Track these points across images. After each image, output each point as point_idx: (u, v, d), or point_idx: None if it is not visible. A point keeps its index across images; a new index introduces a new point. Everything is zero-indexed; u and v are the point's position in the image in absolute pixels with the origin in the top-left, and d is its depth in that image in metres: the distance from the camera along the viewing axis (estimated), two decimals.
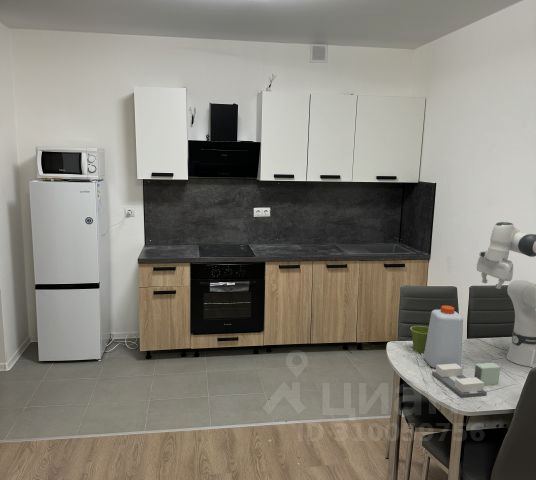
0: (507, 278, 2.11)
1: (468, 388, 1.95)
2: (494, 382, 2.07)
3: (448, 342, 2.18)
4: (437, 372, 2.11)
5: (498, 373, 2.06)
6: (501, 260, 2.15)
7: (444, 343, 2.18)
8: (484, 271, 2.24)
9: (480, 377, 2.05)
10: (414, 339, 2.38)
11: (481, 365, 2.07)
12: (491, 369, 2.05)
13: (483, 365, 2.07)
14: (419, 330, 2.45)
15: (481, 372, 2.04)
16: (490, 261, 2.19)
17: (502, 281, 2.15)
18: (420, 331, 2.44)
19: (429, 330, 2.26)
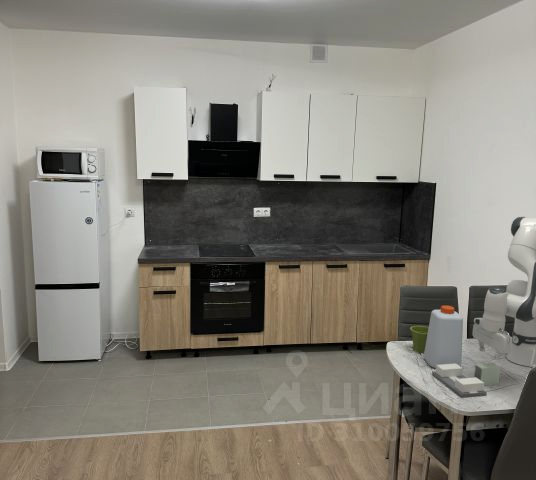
0: (505, 351, 1.95)
1: (468, 388, 1.95)
2: (494, 382, 2.07)
3: (448, 342, 2.18)
4: (437, 372, 2.11)
5: (498, 373, 2.06)
6: (497, 330, 2.00)
7: (444, 343, 2.18)
8: (481, 339, 2.09)
9: (480, 377, 2.05)
10: (414, 339, 2.38)
11: (481, 365, 2.07)
12: (491, 369, 2.05)
13: (483, 365, 2.07)
14: (419, 330, 2.45)
15: (481, 372, 2.04)
16: (486, 330, 2.03)
17: (500, 353, 1.99)
18: (420, 331, 2.44)
19: (429, 330, 2.26)
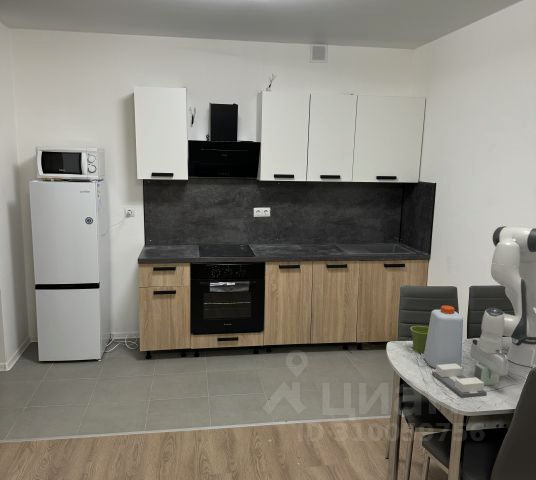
0: (502, 373, 1.97)
1: (468, 388, 1.95)
2: (494, 382, 2.07)
3: (448, 342, 2.18)
4: (437, 372, 2.11)
5: None
6: (495, 351, 2.01)
7: (444, 343, 2.18)
8: (478, 360, 2.10)
9: (480, 377, 2.05)
10: (414, 339, 2.38)
11: (481, 365, 2.07)
12: None
13: (483, 365, 2.07)
14: (419, 330, 2.45)
15: (481, 372, 2.04)
16: (483, 351, 2.05)
17: (495, 372, 2.03)
18: (420, 331, 2.44)
19: (429, 330, 2.26)
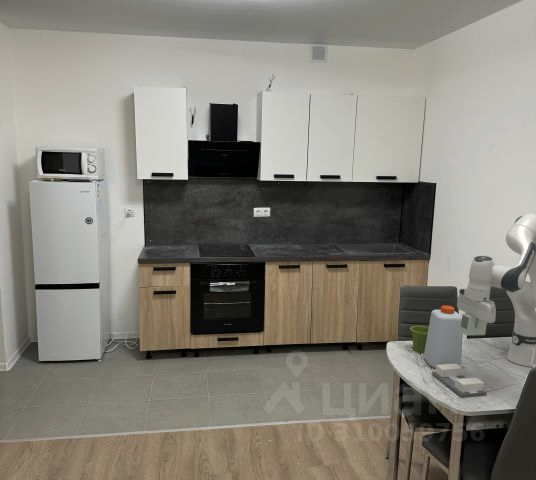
0: (490, 320, 1.90)
1: (468, 388, 1.95)
2: (481, 332, 2.00)
3: (448, 342, 2.18)
4: (437, 372, 2.11)
5: (486, 324, 2.00)
6: (482, 299, 1.95)
7: (444, 344, 2.18)
8: (465, 310, 2.04)
9: (466, 326, 1.98)
10: (414, 339, 2.38)
11: (468, 314, 2.00)
12: None
13: None
14: (419, 330, 2.45)
15: (467, 321, 1.98)
16: (470, 300, 1.98)
17: (482, 321, 1.96)
18: (420, 331, 2.44)
19: (429, 330, 2.26)
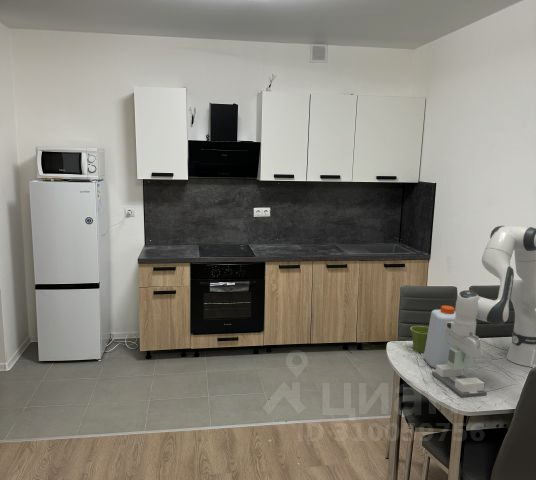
0: (475, 356, 1.92)
1: (468, 388, 1.95)
2: (468, 366, 2.02)
3: None
4: (437, 372, 2.11)
5: None
6: (468, 334, 1.97)
7: (444, 343, 2.18)
8: (452, 343, 2.05)
9: (453, 361, 2.00)
10: (414, 339, 2.38)
11: (455, 348, 2.02)
12: None
13: None
14: (419, 330, 2.45)
15: (454, 356, 2.00)
16: (457, 335, 2.00)
17: (468, 356, 1.98)
18: (420, 331, 2.44)
19: (429, 330, 2.26)
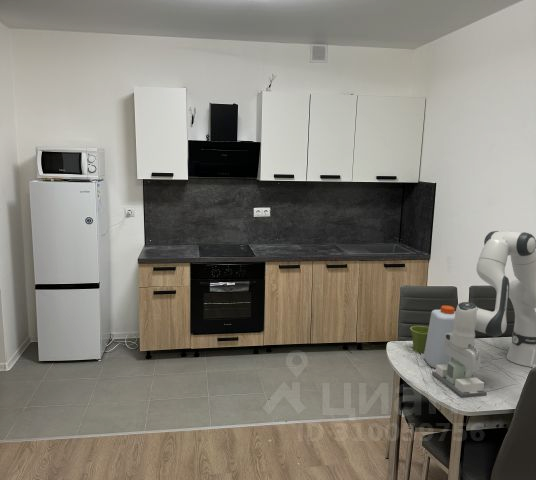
0: (474, 368, 1.93)
1: (468, 388, 1.95)
2: None
3: None
4: (437, 372, 2.11)
5: (471, 372, 2.03)
6: (467, 346, 1.97)
7: None
8: (451, 355, 2.06)
9: (452, 375, 2.01)
10: (414, 339, 2.38)
11: (453, 363, 2.03)
12: (463, 367, 2.01)
13: (455, 363, 2.03)
14: (419, 330, 2.45)
15: (452, 370, 2.01)
16: (456, 346, 2.01)
17: (470, 369, 1.97)
18: (420, 331, 2.44)
19: (429, 330, 2.26)
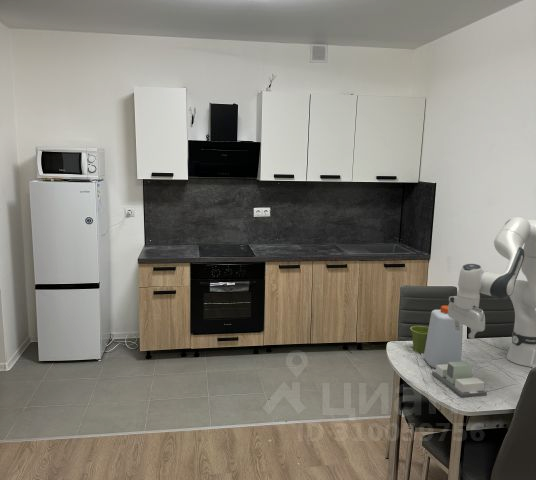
0: (479, 329, 1.90)
1: (468, 388, 1.95)
2: None
3: (448, 342, 2.18)
4: (437, 372, 2.11)
5: (471, 372, 2.03)
6: (471, 308, 1.95)
7: (444, 343, 2.18)
8: (455, 318, 2.04)
9: (452, 375, 2.01)
10: (414, 339, 2.38)
11: (453, 363, 2.03)
12: (463, 367, 2.01)
13: (455, 363, 2.03)
14: (419, 330, 2.45)
15: (452, 370, 2.01)
16: (460, 308, 1.98)
17: (475, 331, 1.94)
18: (420, 331, 2.44)
19: (429, 330, 2.26)
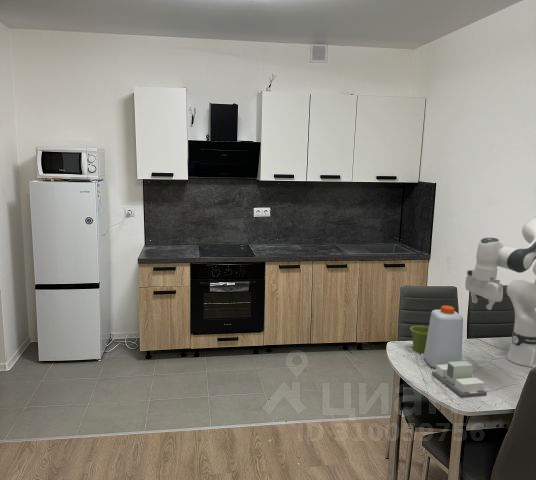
0: (497, 299, 1.97)
1: (468, 388, 1.95)
2: None
3: (448, 342, 2.18)
4: (437, 372, 2.11)
5: (471, 372, 2.03)
6: (489, 279, 2.01)
7: (444, 343, 2.18)
8: (473, 291, 2.10)
9: (452, 375, 2.01)
10: (414, 339, 2.38)
11: (453, 363, 2.03)
12: (463, 367, 2.01)
13: (455, 363, 2.03)
14: (419, 330, 2.45)
15: (452, 370, 2.01)
16: (478, 281, 2.05)
17: (492, 302, 2.01)
18: (420, 331, 2.44)
19: (429, 330, 2.26)
